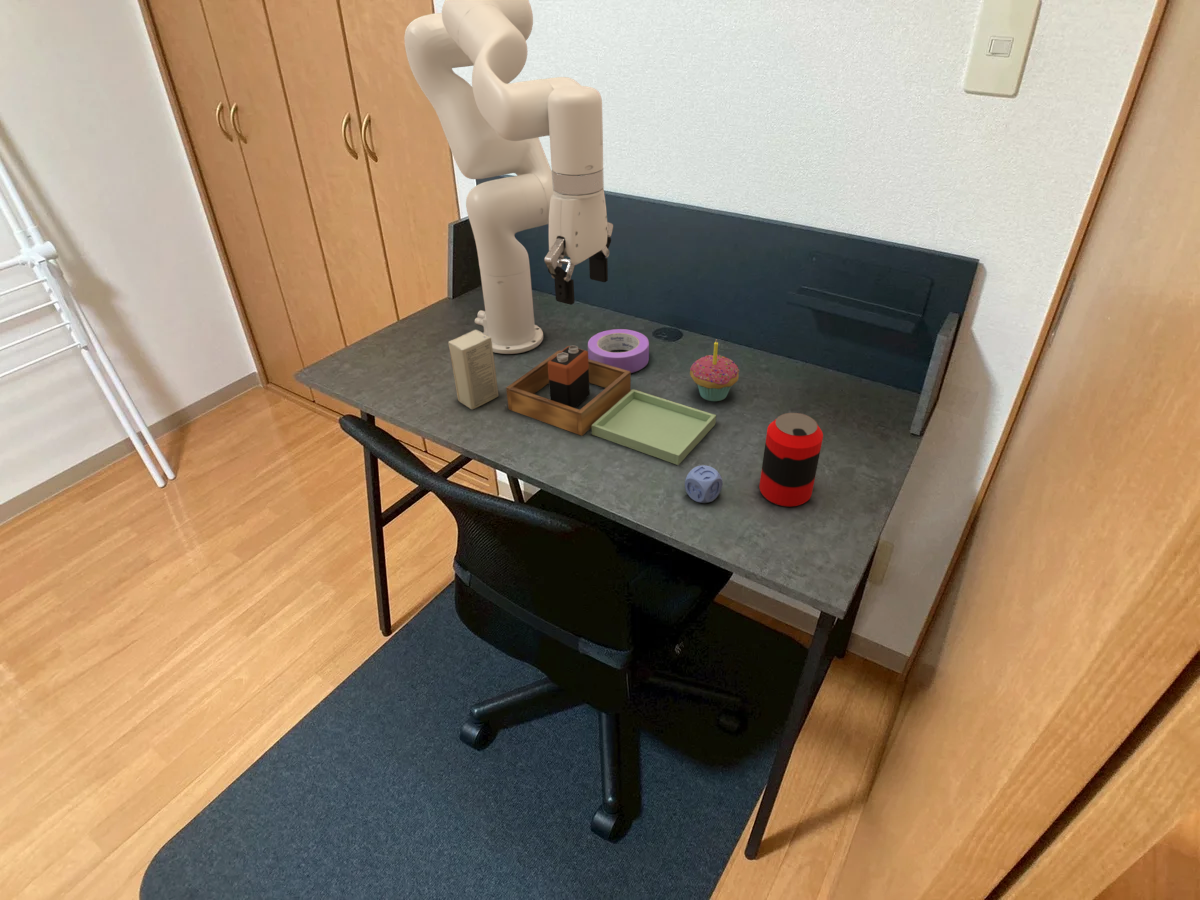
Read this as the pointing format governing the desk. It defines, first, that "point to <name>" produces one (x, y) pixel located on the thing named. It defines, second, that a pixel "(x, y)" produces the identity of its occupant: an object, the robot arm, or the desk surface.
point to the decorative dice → (703, 484)
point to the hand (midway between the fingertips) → (582, 291)
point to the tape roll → (620, 340)
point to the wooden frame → (563, 415)
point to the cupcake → (714, 375)
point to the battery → (569, 376)
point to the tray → (654, 426)
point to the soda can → (790, 459)
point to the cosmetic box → (474, 369)
